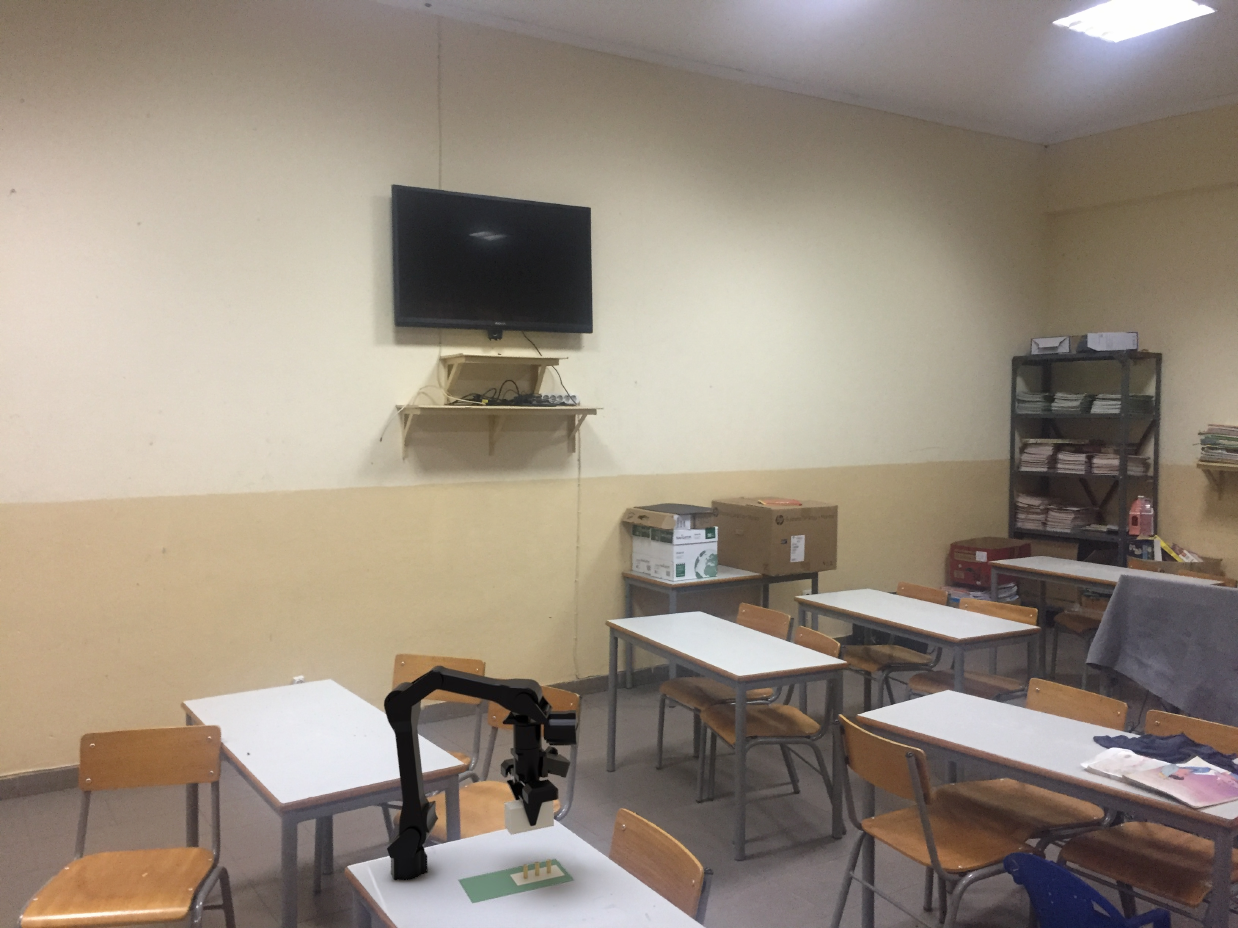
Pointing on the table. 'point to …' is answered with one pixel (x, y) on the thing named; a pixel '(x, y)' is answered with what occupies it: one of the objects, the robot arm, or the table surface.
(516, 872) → the board
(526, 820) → the block
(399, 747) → the robot arm
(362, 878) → the table surface
